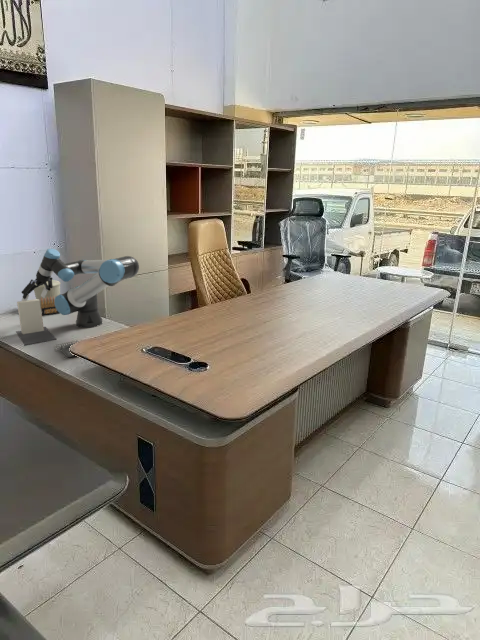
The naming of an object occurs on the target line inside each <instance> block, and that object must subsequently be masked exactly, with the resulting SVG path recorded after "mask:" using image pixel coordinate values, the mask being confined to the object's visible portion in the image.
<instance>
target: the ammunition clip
mask: <svg viewBox="0 0 480 640" xmlns="http://www.w3.org/2000/svg"><path fill="white" fill-rule="evenodd" d="M54 300H55V299H54V296H53V303H52V299H51V296H50V303H49V299H48V297H47V303H46V299H45V298H44V304H43V300H42V297H41V313H42V317H45V316H51V315H53V316H54V315H59V314H60V313H59V312H58V311H57V309H56V307H55V304H54V303H55V302H54Z"/></svg>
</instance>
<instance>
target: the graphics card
mask: <svg viewBox="0 0 480 640" xmlns="http://www.w3.org/2000/svg"><path fill="white" fill-rule="evenodd" d="M76 342H78V343H79V341H78V340H73V341H67V342H64V343H63V342H62V343H58V344H55V345H54V346H53V347H54V351H61V352H62V353H64V355H65V356H66V357H67V358H70V357H75V356H74V355H72V354H71V353H70V351H69V348H70V346H71V345H73V344H75V343H76Z"/></svg>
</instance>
